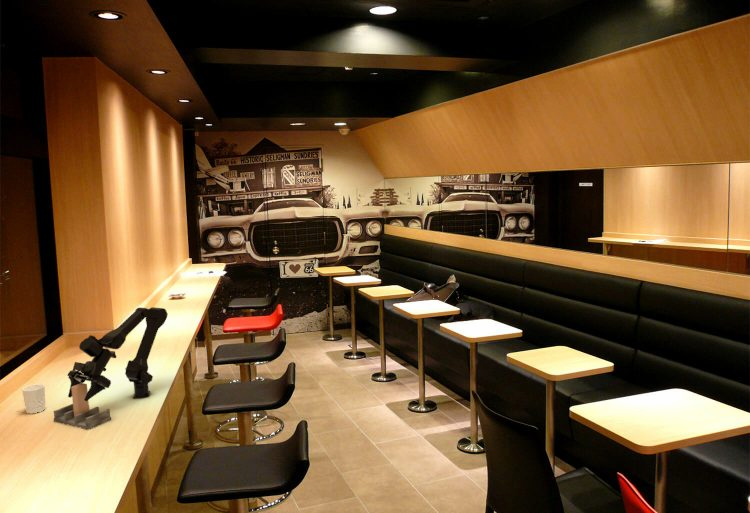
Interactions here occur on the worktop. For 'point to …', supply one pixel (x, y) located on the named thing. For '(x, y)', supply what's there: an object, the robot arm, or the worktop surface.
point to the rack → (82, 417)
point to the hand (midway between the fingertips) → (77, 398)
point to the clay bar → (79, 398)
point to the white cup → (34, 398)
